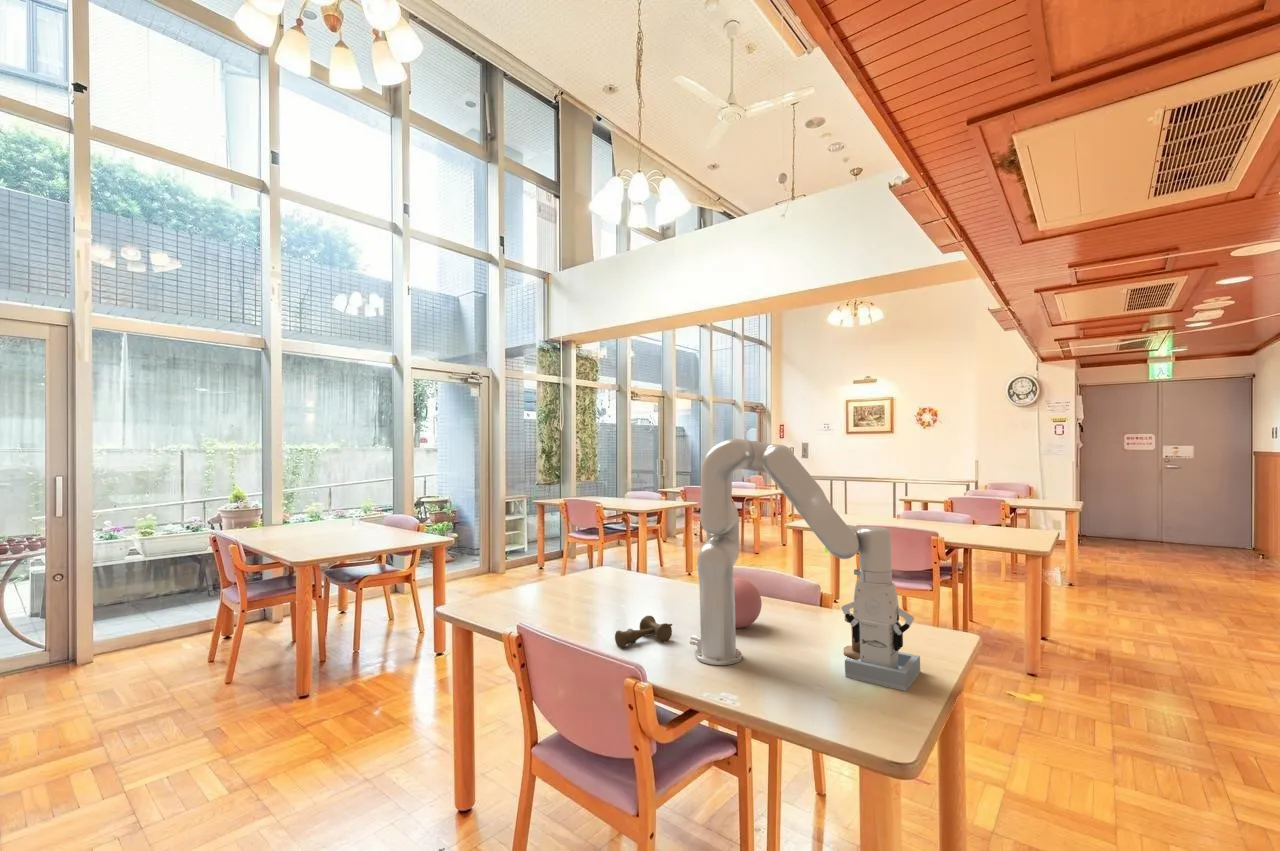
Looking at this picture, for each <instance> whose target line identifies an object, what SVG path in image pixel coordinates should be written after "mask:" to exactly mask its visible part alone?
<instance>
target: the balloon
mask: <svg viewBox="0 0 1280 851" xmlns="http://www.w3.org/2000/svg"><path fill="white" fill-rule="evenodd" d="M734 590H735V628H736V629H742V628H743V629H744V628H746V627H749V626H751V625H752V624H754V623H755V621H756V620H757V619H758V618H759V615H761V611H762V604H763V603H762V598H761V594H760V592H759V590H758V589H757V587H756V585H754V584H753V583H752V582H750V580H748V579H745V578H743V577H734Z"/></svg>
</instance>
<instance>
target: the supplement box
mask: <svg viewBox="0 0 1280 851" xmlns="http://www.w3.org/2000/svg"><path fill="white" fill-rule="evenodd" d="M895 633H896V632H895V631H894V629H893V628H892V626H890V624H885V623H880V622H875V621H869V620H863V619H860V662H865V663H870V664H874V665H879V666H883V667H888V668H893V669H898V652H899V651H895V649H894V634H895Z"/></svg>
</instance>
